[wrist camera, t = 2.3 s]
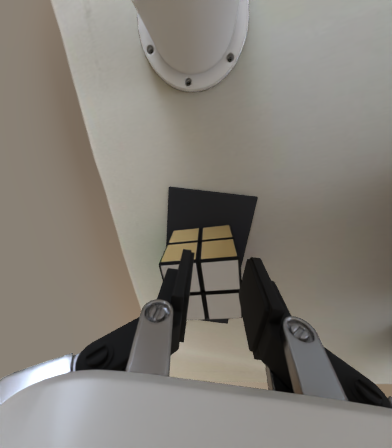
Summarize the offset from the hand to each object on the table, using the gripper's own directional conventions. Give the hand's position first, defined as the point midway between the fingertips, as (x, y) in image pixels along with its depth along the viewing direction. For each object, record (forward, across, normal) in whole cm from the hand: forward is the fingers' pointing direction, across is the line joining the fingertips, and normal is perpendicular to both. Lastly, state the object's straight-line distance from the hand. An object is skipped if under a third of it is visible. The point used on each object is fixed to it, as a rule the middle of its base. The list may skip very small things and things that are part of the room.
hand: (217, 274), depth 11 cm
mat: (+19, 0, +13) cm, 23 cm away
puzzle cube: (+19, 0, +10) cm, 21 cm away
